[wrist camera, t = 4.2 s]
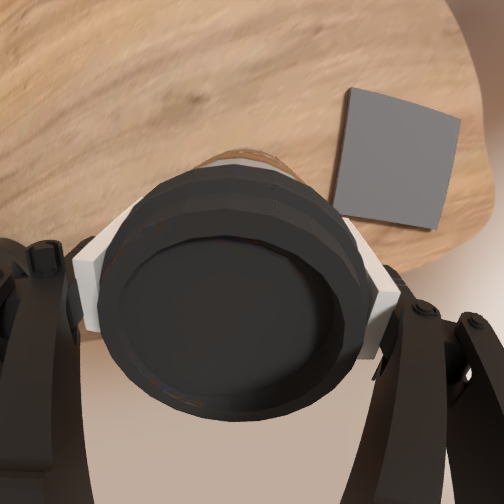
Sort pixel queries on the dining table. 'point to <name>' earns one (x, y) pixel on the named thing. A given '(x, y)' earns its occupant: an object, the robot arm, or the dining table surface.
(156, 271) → the coffee cup
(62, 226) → the dining table surface
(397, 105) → the coaster
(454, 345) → the robot arm
